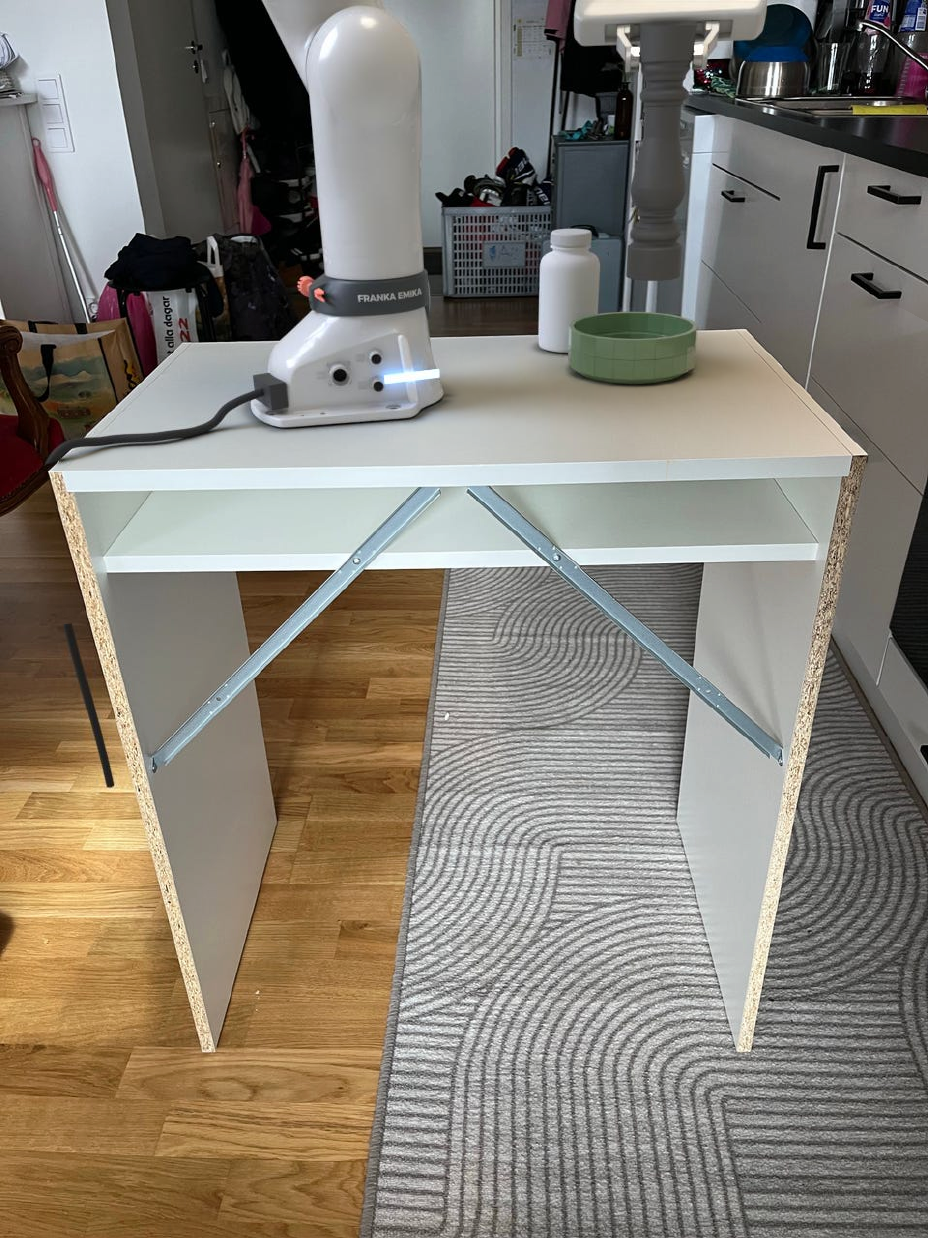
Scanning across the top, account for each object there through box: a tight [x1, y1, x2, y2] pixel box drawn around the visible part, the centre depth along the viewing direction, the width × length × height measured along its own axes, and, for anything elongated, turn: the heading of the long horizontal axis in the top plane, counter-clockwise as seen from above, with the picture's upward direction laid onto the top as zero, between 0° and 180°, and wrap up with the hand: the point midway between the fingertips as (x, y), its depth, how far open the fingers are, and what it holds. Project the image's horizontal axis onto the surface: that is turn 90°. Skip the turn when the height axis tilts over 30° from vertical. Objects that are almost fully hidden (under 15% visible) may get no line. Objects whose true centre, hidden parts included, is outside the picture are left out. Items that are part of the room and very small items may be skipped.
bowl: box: [567, 311, 699, 385], centre depth 122 cm, size 16×16×6 cm
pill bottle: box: [538, 228, 601, 354], centre depth 131 cm, size 8×8×15 cm
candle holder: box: [625, 25, 696, 282], centre depth 108 cm, size 6×6×25 cm
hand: (666, 66), depth 103 cm, fingers closed on candle holder, 5 cm apart
